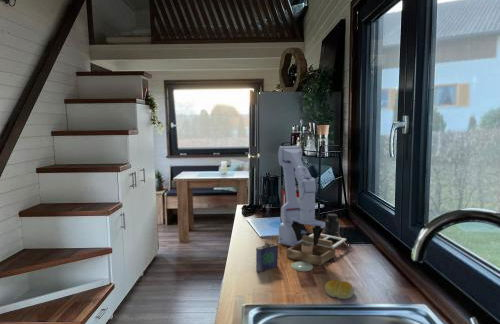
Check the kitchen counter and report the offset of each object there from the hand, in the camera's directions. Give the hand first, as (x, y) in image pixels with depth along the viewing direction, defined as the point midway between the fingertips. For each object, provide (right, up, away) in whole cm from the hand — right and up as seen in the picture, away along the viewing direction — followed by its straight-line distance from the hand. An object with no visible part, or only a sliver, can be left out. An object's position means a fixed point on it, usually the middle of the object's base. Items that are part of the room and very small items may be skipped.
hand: (307, 242), depth 144 cm
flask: (-17, -8, -9) cm, 21 cm away
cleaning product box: (-1, -2, +47) cm, 47 cm away
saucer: (-3, -8, -8) cm, 12 cm away
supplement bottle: (+15, -4, +23) cm, 28 cm away
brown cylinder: (0, -6, +1) cm, 6 cm away
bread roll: (+6, -11, -28) cm, 30 cm away
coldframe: (+2, -7, +3) cm, 7 cm away
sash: (+9, -2, +11) cm, 14 cm away
